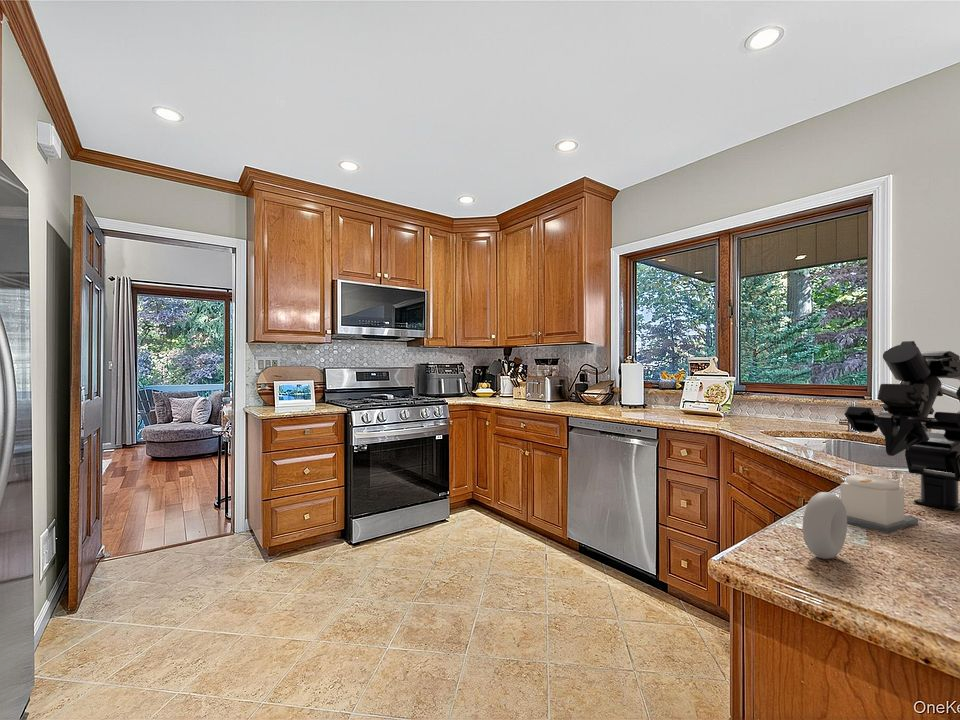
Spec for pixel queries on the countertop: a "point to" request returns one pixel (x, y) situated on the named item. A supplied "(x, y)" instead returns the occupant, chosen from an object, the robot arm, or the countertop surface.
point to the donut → (825, 525)
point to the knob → (873, 499)
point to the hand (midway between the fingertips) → (889, 454)
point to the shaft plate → (883, 528)
